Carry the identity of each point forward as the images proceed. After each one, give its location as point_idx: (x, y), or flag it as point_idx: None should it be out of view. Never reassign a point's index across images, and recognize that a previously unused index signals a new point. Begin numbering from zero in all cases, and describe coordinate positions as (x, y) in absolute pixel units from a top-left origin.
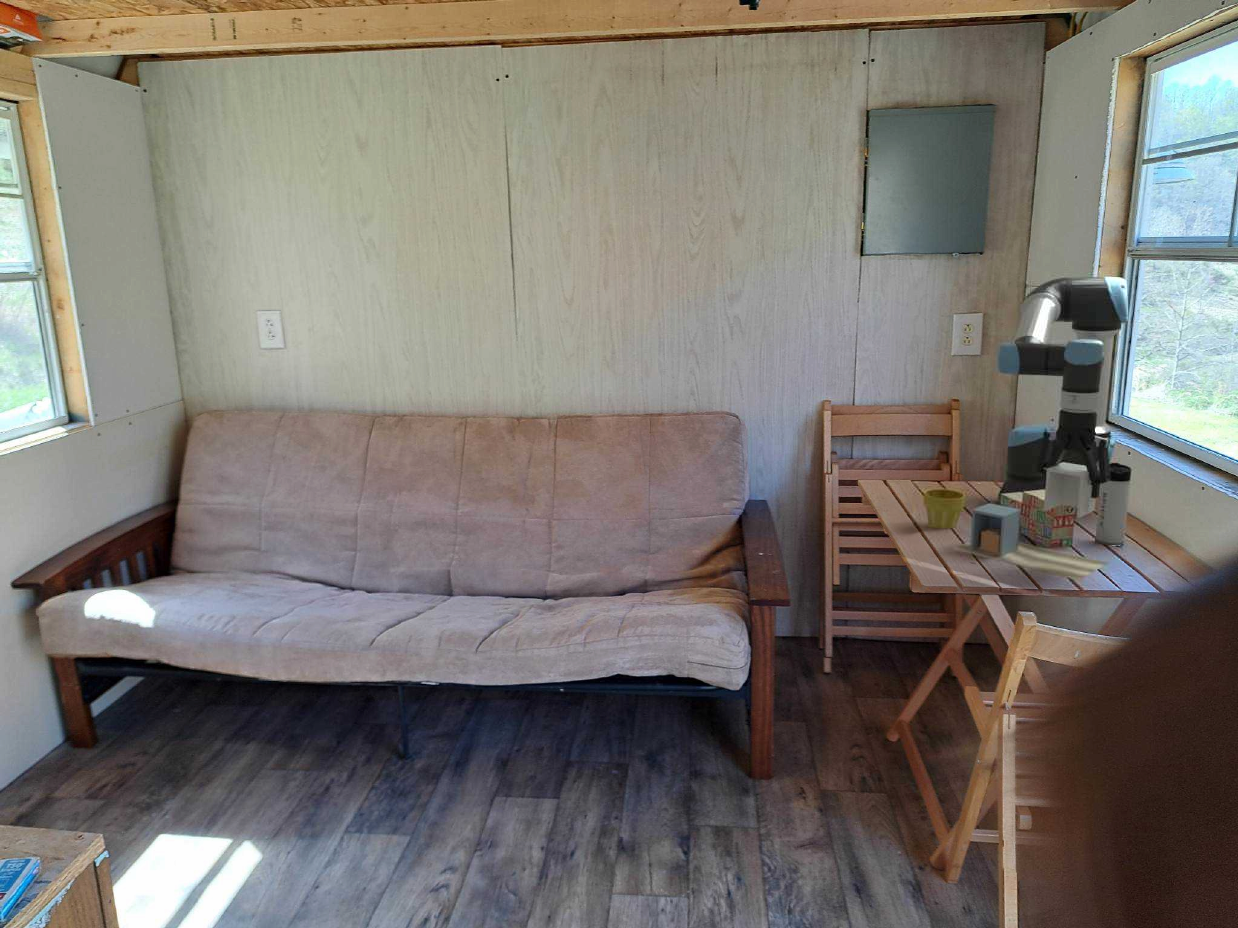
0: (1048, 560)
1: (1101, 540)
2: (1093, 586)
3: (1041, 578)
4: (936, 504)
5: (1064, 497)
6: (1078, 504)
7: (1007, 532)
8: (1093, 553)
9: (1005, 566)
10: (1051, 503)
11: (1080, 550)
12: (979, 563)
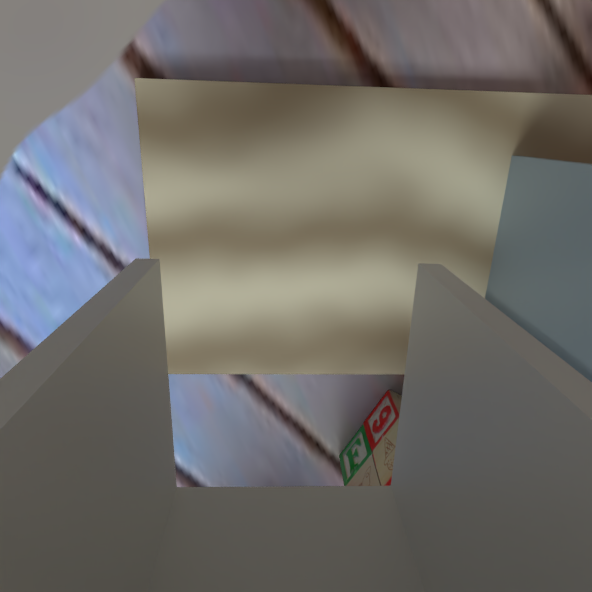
0: (336, 245)
1: None
2: (85, 105)
3: (283, 42)
4: None
5: (381, 532)
6: (115, 298)
7: (567, 214)
8: (265, 460)
9: (463, 89)
10: (421, 367)
11: (310, 460)
12: (571, 41)
